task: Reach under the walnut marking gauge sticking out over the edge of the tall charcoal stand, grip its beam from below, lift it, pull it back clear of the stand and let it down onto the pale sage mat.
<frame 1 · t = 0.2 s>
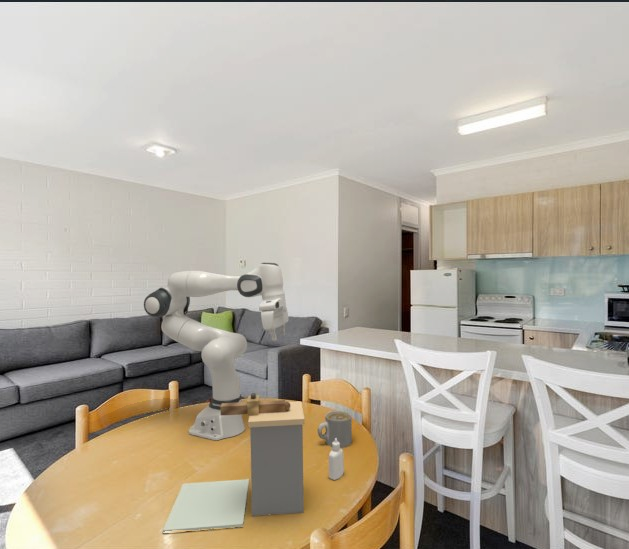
hand: (278, 337, 144), 39 cm above the table, tool pointing down, fingers open, 8 cm apart
sage mat: (210, 505, 104), on the table
marking gauge: (253, 412, 104), point 26 cm above the table, touching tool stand
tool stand: (277, 500, 105), on the table
eye dropper bottle: (336, 476, 117), on the table
coffee mug: (334, 442, 140), on the table
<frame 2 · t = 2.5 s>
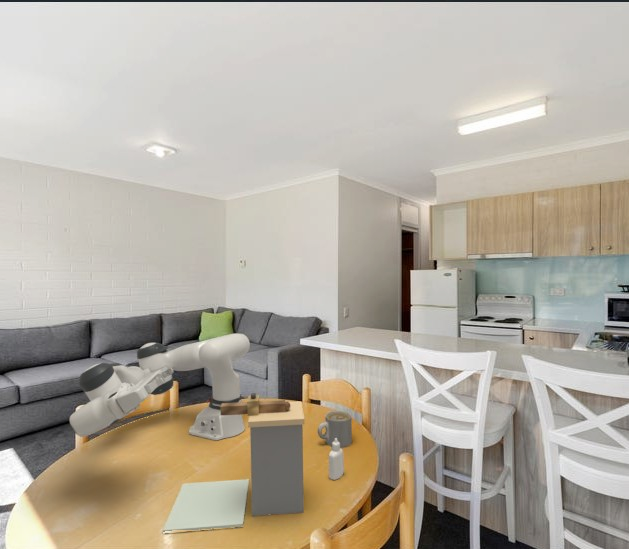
hand: (167, 374, 109), 35 cm above the table, tool pointing upward, fingers open, 8 cm apart
nothing on the table moved.
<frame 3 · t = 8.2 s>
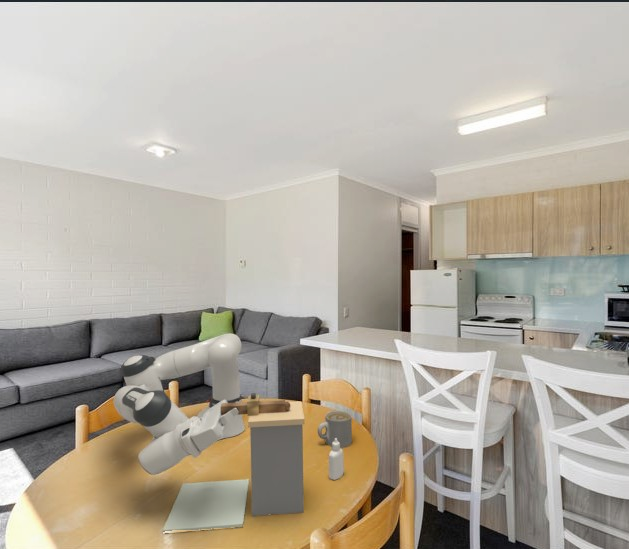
hand: (238, 406, 104), 28 cm above the table, tool pointing upward, fingers closed on marking gauge, 2 cm apart
marking gauge: (253, 412, 104), point 26 cm above the table, touching gripper
everything else where it was.
when the fingers open (19 cm above the table, at t = 15.6 s): marking gauge drops 17 cm, resting on sage mat.
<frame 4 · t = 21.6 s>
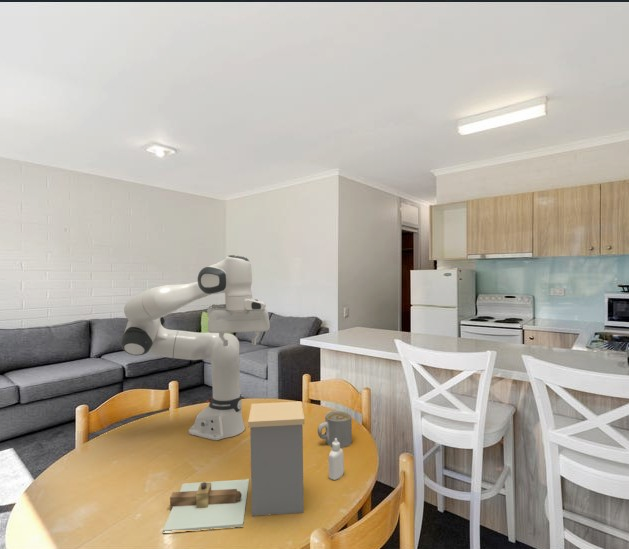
hand: (239, 345, 122), 41 cm above the table, tool pointing down, fingers open, 8 cm apart
marking gauge: (204, 501, 104), point 1 cm above the table, touching sage mat
everything else where it was.
at the end: marking gauge touching sage mat; marking gauge inside the target area on the sage mat (1.7 cm from its centre), point 1.0 cm above the sage mat's base; the gripper is holding nothing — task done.
